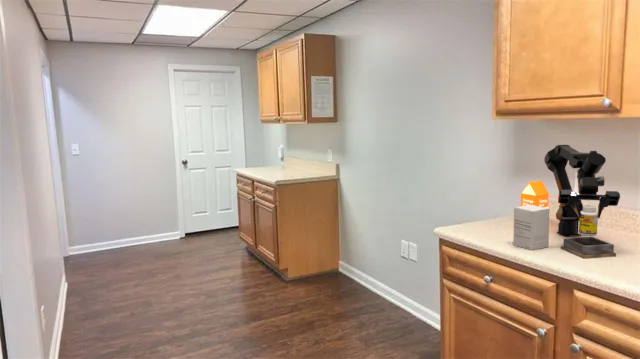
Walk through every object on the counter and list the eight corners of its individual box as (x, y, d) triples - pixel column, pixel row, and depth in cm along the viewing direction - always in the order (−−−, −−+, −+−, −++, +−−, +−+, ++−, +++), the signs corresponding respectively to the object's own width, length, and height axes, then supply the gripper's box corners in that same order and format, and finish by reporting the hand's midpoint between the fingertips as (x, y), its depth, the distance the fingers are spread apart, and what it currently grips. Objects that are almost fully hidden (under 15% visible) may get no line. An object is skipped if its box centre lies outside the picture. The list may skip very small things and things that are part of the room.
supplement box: (529, 241, 174) (530, 204, 172) (549, 247, 166) (550, 208, 164) (512, 244, 171) (513, 206, 169) (531, 250, 163) (533, 210, 161)
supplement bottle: (575, 233, 159) (576, 205, 158) (586, 231, 161) (587, 204, 160) (589, 237, 154) (591, 208, 153) (600, 235, 156) (602, 206, 155)
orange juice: (519, 224, 201) (520, 181, 198) (532, 222, 205) (533, 179, 202) (535, 228, 194) (536, 183, 191) (548, 225, 198) (549, 181, 195)
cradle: (591, 246, 165) (591, 236, 165) (615, 256, 153) (616, 245, 153) (561, 248, 164) (561, 238, 163) (583, 258, 152) (584, 247, 151)
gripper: (560, 167, 162) (561, 203, 153) (620, 168, 154) (625, 206, 146) (557, 185, 170) (558, 220, 162) (615, 187, 162) (619, 223, 154)
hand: (589, 217), depth 156 cm, fingers closed on supplement bottle, 5 cm apart
